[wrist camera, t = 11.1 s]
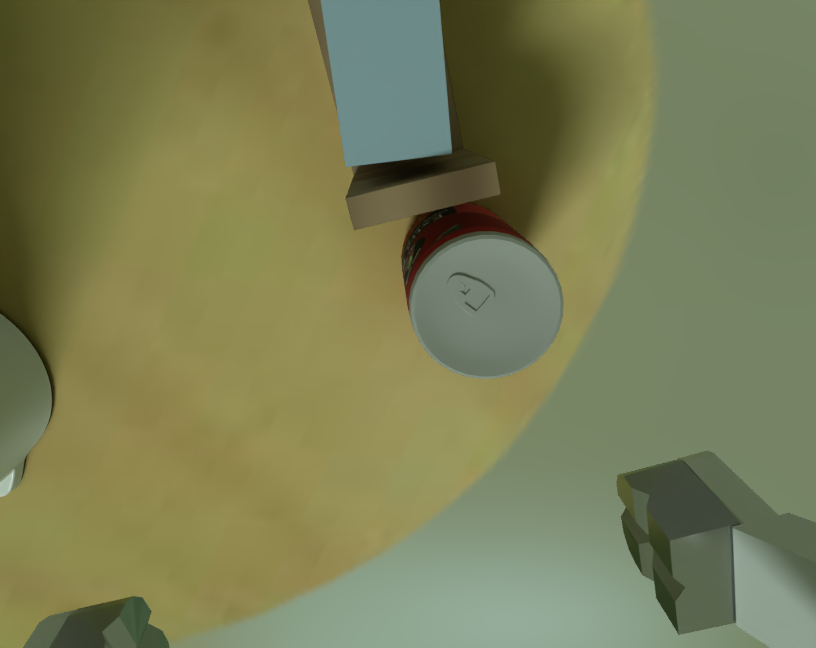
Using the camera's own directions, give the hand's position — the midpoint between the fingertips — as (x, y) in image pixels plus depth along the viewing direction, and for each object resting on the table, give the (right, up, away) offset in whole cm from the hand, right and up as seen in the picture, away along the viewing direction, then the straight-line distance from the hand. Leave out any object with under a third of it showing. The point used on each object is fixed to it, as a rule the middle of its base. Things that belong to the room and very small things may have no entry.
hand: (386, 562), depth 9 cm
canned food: (+4, +9, +29) cm, 30 cm away
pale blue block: (-1, +19, +20) cm, 28 cm away
